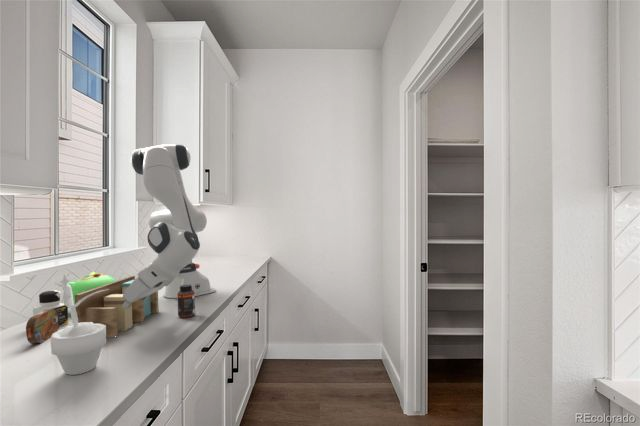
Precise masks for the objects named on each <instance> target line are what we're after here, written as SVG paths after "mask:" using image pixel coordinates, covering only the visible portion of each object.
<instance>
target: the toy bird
mask: <svg viewBox="0 0 640 426" xmlns="http://www.w3.org/2000/svg"><path fill="white" fill-rule="evenodd" d="M114 281H117V280H116V279H115V278H114V277H113V276H110V275H108V274H101V273H100V272H99V273H98V272H95V271H91V272H90V273H89V274H88V275H86V276H83V277H81V278H79V279H77V280H76V281H70V282H68V284H69V285H71V289H72V294H73V301H74V305H75V295H76V294H79V293H82V292H85V291H88V290H91V289H94V288H97V287H100V286H103V285H105V284H108V283H111V282H114ZM58 286H60V285H58ZM60 287H61V288H62V286H60Z"/></svg>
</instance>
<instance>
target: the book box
mask: <svg viewBox="0 0 640 426" xmlns="http://www.w3.org/2000/svg"><path fill="white" fill-rule="evenodd" d="M124 302H125V299H124V298H123V294H111V295H108V296H106V297H104V307H117V331H127V330H128V328H129V329H131V328H132V327H133V322H132V303H131V306H130V307H128V308H126V309H125V308H124V307H123V306H122V304H123V303H124ZM130 327H131V328H130ZM126 329H127V330H126Z"/></svg>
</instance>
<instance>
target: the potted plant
mask: <svg viewBox="0 0 640 426" xmlns="http://www.w3.org/2000/svg"><path fill="white" fill-rule="evenodd" d="M68 282H71V280H69V279H67V277H66V274H65V273H64V274H63V278H62V280H60V281H58V282H54V284H55V285H58V286H59V285H60V287H61V286H62V287H61V288H62V290H63V296H62V293H61V294H60V293H59V290H57V291H58V293H57V294H56V295H57V296H58V297H60V295H61V296H62V299H63V303H64V304H65V305H66V306H67V307H68V308H70V311H69V313H70V317H71V320H72V325H67V326H66V327H64V328H62V329H58V331H57V332H55V333H53V334H52V336H51V337H50V349H51V350H50V351H51V352H50V353H51V354H52V355H54V356H56V358H57V360H58V362H59V363H60V365H61V369H62V370H63V372H64V373H65V374H67V375H71V376H76V375H82V373H83V374H85V372H86V373H88V372H90V371H92V370H93V369H95V368H96V367H97V364H98V361H99V358H100V355H101V354H100V353H101V351H102V347H103V346H105V345H106V344H107V338H106V325H103V324H93V322H81V323H78V317H77V313H76V307H77V306H78V305H79V304H80V303H81V302H82V301H83V300H85V299H86V298H87V297H89V296H92V295H94V294H96V293H99V292H102V291H106V290H109V289H106V290H100V291H97V292H94V293H92V294H90V295H87V296H85V297H84V298H82V299H81V300H79V301H78V302H77V303H76V304H75V305H74V301H73V294H72V289H71V285H69V284H68Z"/></svg>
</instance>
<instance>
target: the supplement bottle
mask: <svg viewBox="0 0 640 426" xmlns="http://www.w3.org/2000/svg"><path fill="white" fill-rule="evenodd" d="M191 288H192V287H191V285H190V284H185V285H181V286H180V291H179V292H178V294H177V298H176V299H177V316H178V318H183V319H184V318H192V317H194V316H195V315H196V304H195V302H196V300H195V299H196V298H195V297H196V296H195V295H194V291H193V290H192V289H191Z"/></svg>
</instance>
